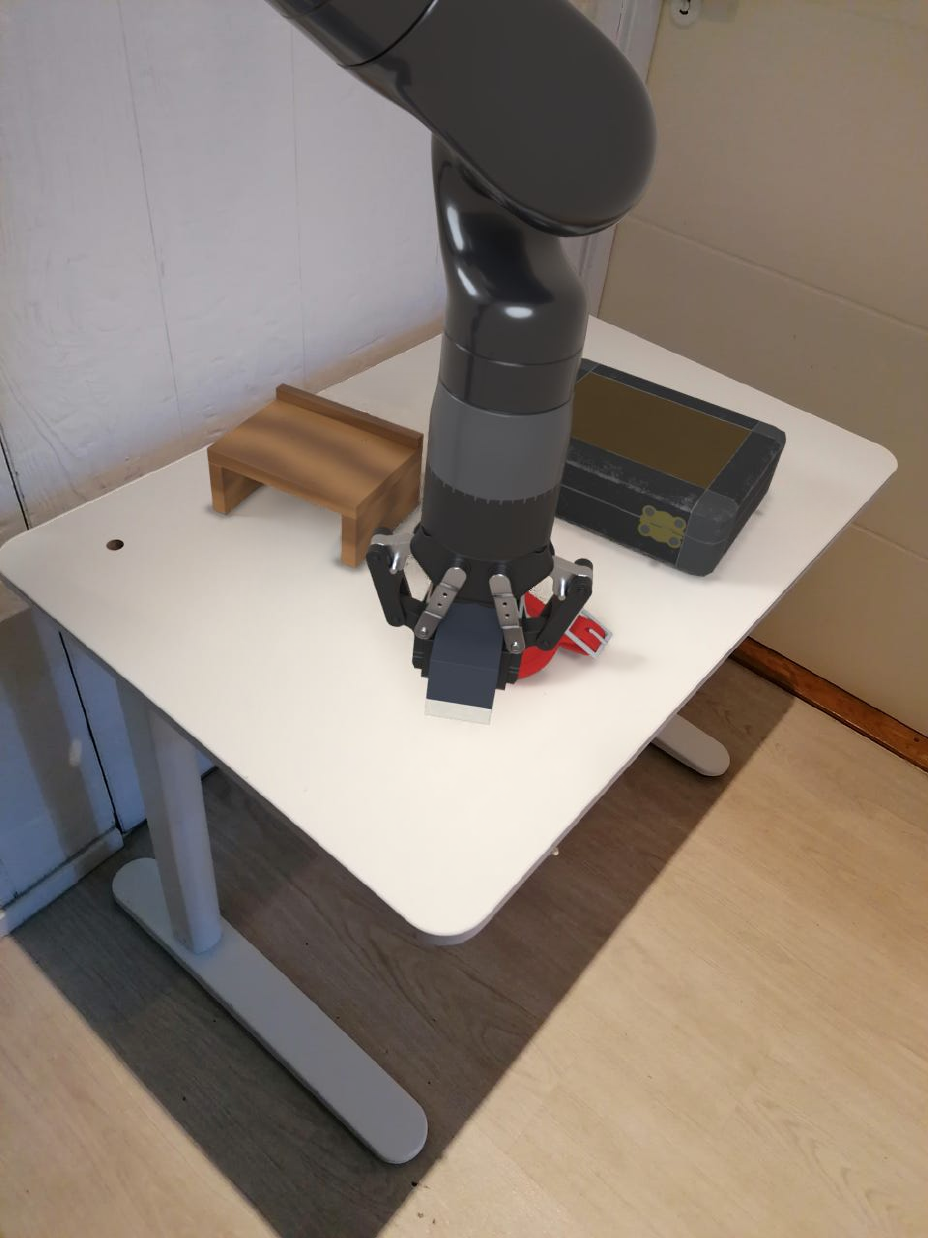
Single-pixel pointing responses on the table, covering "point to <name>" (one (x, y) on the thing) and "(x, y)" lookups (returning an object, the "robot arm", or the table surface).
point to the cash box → (663, 468)
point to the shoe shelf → (322, 464)
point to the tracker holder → (564, 638)
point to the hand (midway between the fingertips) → (464, 674)
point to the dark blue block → (465, 664)
